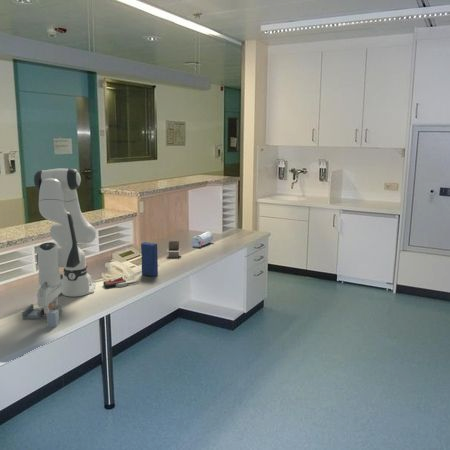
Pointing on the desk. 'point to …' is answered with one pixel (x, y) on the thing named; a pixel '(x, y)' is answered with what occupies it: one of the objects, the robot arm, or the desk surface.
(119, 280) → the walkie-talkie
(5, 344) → the desk surface
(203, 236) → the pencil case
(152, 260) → the blue rectangular block
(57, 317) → the slate-blue plug
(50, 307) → the terracotta plug
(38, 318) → the slot dock
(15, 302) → the desk surface
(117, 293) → the desk surface
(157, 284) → the desk surface
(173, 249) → the architectural model
